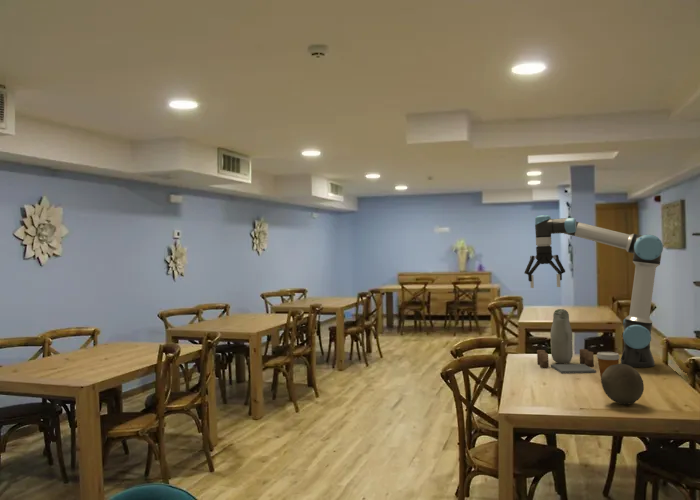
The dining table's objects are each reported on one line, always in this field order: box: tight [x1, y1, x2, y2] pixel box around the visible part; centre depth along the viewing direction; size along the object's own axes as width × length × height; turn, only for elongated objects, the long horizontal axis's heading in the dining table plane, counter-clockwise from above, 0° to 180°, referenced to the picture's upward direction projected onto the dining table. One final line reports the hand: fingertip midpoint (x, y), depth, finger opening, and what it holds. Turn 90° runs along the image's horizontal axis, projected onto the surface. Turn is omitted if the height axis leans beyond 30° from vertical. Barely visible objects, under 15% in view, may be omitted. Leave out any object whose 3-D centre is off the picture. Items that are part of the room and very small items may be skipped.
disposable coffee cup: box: [596, 351, 621, 378], centre depth 253 cm, size 10×10×12 cm
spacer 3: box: [579, 348, 589, 365], centre depth 293 cm, size 4×4×7 cm
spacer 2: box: [539, 352, 550, 369], centre depth 285 cm, size 4×4×7 cm
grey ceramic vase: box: [550, 308, 573, 364], centre depth 293 cm, size 10×10×28 cm
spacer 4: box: [584, 350, 595, 368], centre depth 286 cm, size 4×4×7 cm
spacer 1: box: [536, 349, 546, 366], centre depth 293 cm, size 4×4×7 cm
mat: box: [550, 363, 597, 375], centre depth 278 cm, size 16×16×1 cm
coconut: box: [600, 363, 645, 406], centre depth 214 cm, size 14×14×15 cm
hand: (545, 287), depth 292 cm, fingers open, 13 cm apart
